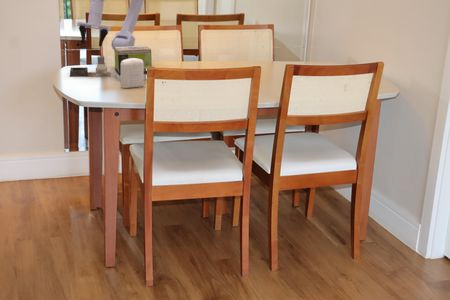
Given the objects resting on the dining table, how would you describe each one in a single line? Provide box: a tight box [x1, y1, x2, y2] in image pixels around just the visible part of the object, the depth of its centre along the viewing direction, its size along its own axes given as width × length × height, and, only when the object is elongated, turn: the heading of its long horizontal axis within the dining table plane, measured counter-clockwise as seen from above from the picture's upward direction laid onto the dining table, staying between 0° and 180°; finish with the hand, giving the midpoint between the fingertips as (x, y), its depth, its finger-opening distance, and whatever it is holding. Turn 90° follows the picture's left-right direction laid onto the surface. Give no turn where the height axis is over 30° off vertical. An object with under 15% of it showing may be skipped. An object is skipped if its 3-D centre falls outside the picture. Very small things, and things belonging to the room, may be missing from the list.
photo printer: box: [120, 58, 145, 89], centre depth 269 cm, size 10×4×12 cm, turn 123°
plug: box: [96, 55, 107, 70], centre depth 286 cm, size 4×4×8 cm
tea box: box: [113, 45, 153, 82], centre depth 280 cm, size 15×10×15 cm, turn 108°
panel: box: [69, 66, 111, 78], centre depth 286 cm, size 18×9×4 cm, turn 101°
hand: (91, 45), depth 279 cm, fingers open, 7 cm apart
